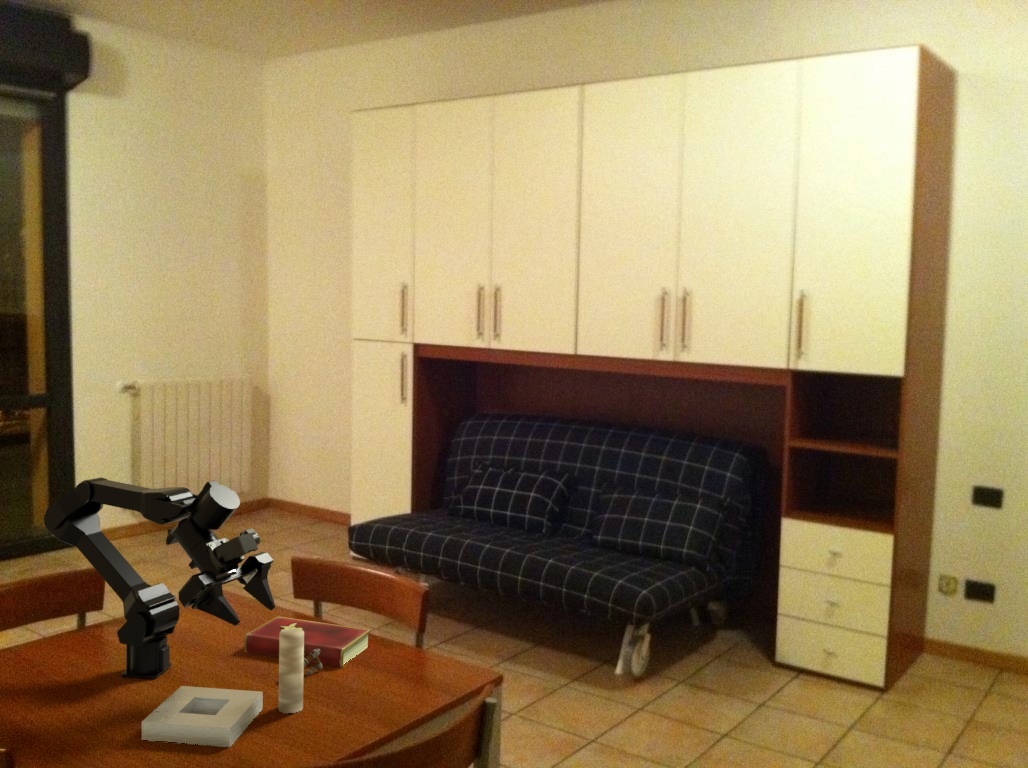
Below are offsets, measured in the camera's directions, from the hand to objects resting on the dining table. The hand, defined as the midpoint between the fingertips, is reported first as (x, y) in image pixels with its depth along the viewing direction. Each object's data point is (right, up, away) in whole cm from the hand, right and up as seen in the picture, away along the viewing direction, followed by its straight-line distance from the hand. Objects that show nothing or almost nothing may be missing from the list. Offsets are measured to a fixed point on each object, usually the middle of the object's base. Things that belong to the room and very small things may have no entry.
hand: (256, 616), depth 162 cm
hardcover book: (+3, -13, +25) cm, 28 cm away
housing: (-6, -15, -10) cm, 19 cm away
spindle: (+6, -15, -3) cm, 16 cm away
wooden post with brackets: (+5, -14, +11) cm, 19 cm away
